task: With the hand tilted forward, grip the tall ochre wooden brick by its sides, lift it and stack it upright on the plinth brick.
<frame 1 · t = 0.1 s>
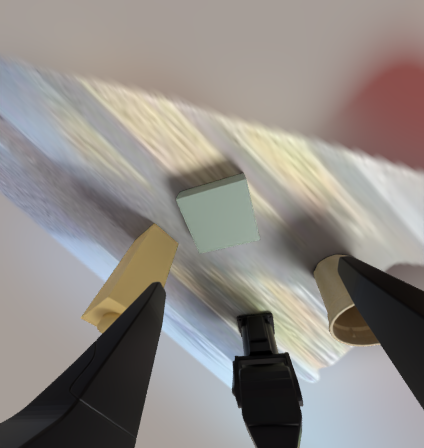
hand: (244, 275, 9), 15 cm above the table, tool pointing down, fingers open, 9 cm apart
flower pot: (333, 268, 28), on the table
tower brick: (156, 242, 27), on the table
plinth brick: (220, 211, 24), on the table
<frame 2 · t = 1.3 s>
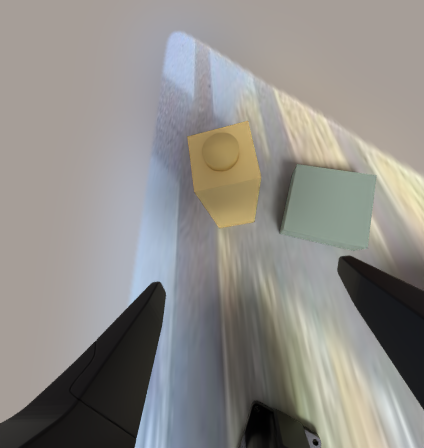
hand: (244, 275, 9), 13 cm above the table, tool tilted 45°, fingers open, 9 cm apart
tower brick: (233, 208, 24), on the table
plinth brick: (320, 209, 22), on the table
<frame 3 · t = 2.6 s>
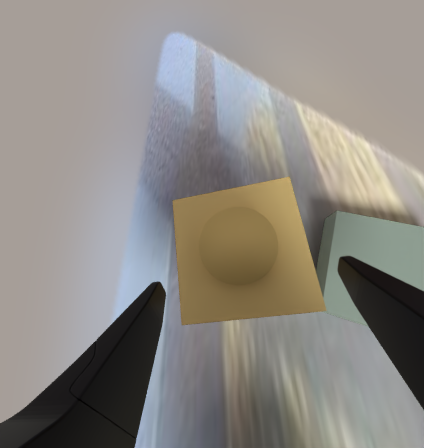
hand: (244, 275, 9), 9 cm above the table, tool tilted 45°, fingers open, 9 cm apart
tower brick: (244, 263, 18), on the table
plinth brick: (368, 273, 16), on the table
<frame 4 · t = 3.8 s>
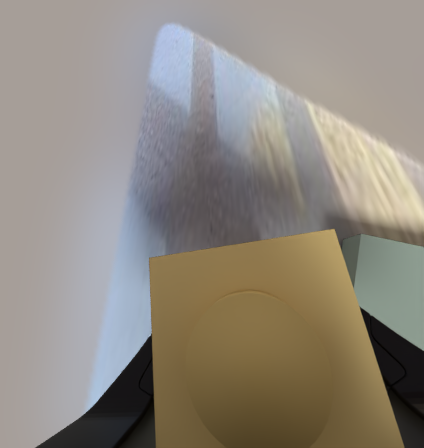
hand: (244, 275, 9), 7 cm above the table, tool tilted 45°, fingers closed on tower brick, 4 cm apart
tower brick: (248, 291, 15), on the table, touching gripper
plinth brick: (397, 307, 13), on the table
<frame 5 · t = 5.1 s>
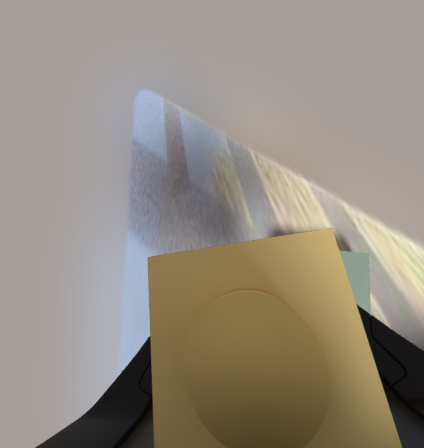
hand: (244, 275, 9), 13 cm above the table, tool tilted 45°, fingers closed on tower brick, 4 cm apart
tower brick: (248, 291, 15), point 7 cm above the table, touching gripper
plinth brick: (314, 286, 21), on the table
when the fingers open (10 cm above the table, at t = 6.5 s): tower brick stays where it is, resting on plinth brick.
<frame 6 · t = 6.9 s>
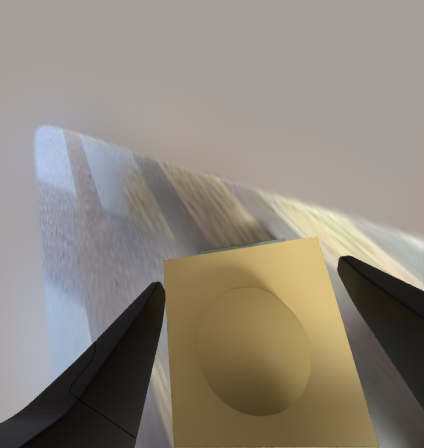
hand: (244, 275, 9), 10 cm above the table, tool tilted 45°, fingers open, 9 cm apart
tower brick: (248, 290, 16), point 2 cm above the table, touching plinth brick
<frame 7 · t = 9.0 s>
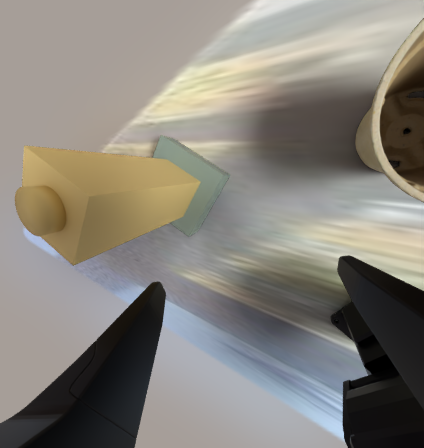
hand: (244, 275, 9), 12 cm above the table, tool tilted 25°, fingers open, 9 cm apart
flower pot: (399, 133, 15), on the table
tower brick: (175, 188, 20), point 2 cm above the table, touching plinth brick
plinth brick: (186, 186, 22), on the table
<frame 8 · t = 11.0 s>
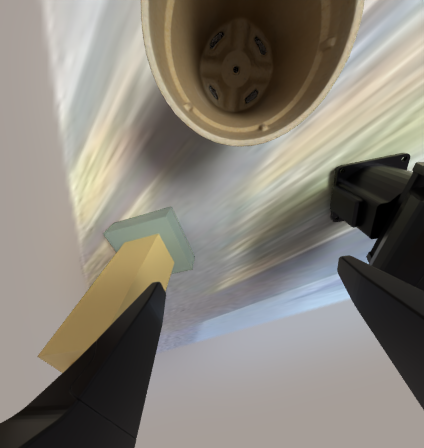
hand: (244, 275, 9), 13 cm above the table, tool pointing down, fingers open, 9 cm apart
flower pot: (234, 72, 16), on the table
tower brick: (150, 252, 22), point 2 cm above the table, touching plinth brick
plinth brick: (156, 240, 25), on the table
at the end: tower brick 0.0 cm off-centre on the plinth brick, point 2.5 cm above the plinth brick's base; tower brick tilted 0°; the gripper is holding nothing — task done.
